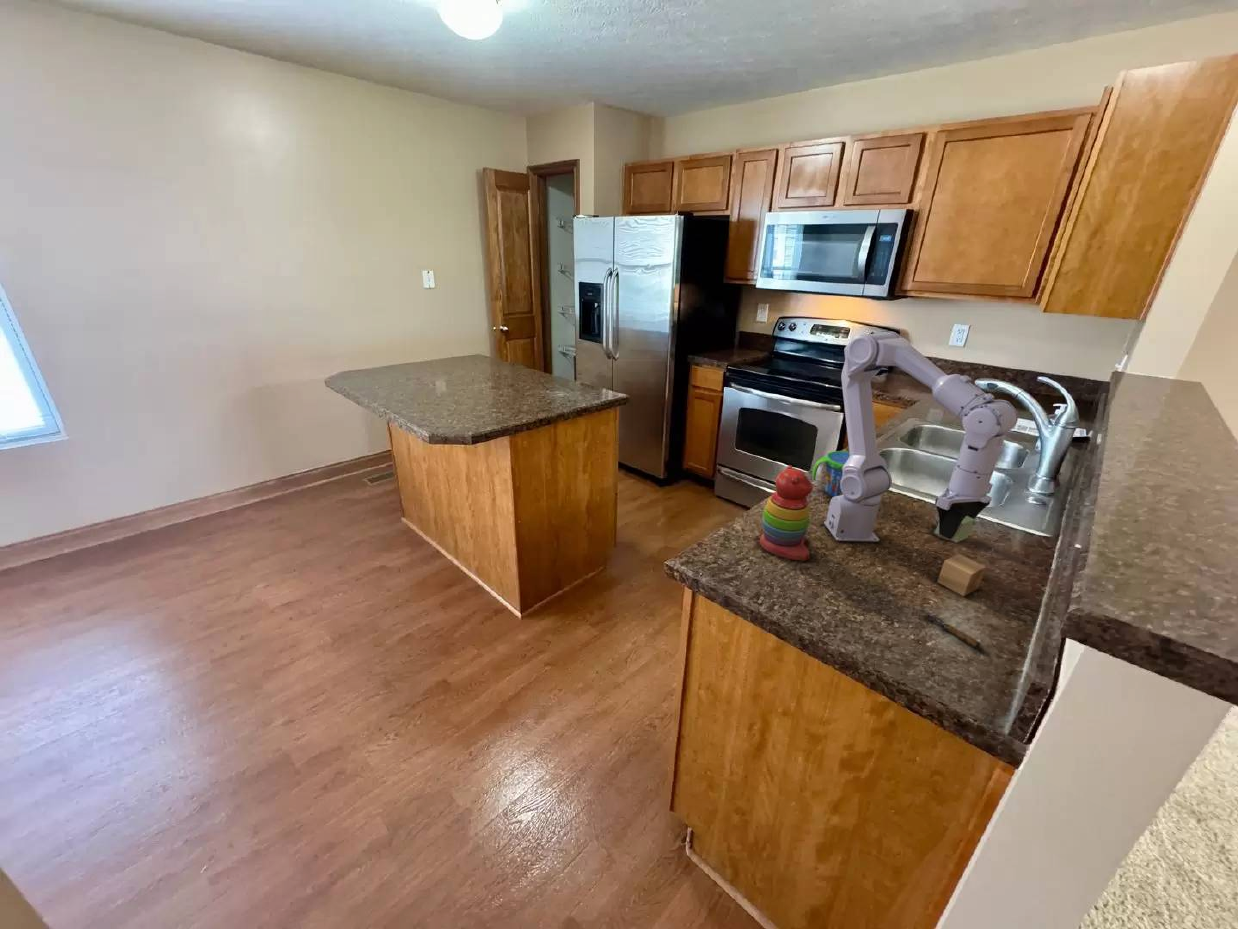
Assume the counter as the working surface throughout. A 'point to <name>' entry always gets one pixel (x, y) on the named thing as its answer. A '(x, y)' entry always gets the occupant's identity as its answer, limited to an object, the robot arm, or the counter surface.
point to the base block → (961, 574)
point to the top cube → (961, 529)
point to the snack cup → (833, 471)
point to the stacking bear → (787, 516)
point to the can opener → (955, 631)
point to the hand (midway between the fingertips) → (951, 533)
